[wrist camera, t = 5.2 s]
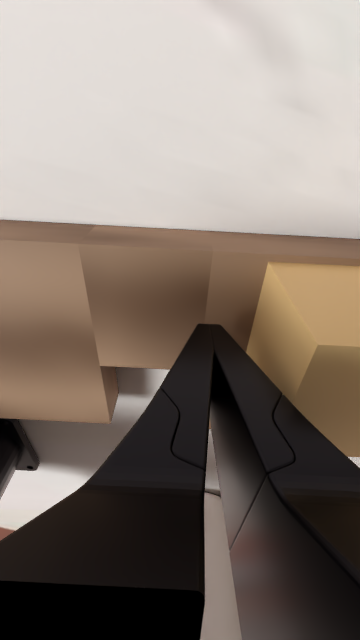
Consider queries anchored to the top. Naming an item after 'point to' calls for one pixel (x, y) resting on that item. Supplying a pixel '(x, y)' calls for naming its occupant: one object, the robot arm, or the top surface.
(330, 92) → the top surface
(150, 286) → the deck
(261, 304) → the block
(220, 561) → the milk bottle
